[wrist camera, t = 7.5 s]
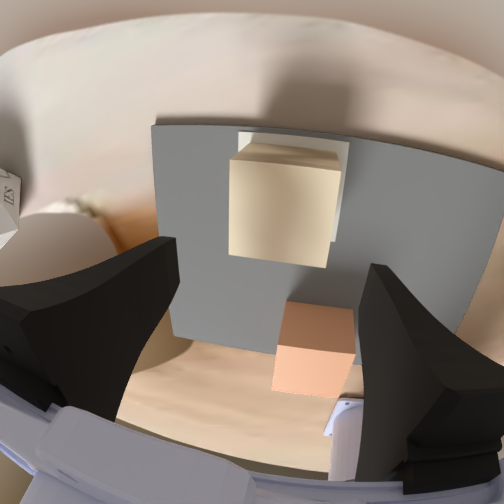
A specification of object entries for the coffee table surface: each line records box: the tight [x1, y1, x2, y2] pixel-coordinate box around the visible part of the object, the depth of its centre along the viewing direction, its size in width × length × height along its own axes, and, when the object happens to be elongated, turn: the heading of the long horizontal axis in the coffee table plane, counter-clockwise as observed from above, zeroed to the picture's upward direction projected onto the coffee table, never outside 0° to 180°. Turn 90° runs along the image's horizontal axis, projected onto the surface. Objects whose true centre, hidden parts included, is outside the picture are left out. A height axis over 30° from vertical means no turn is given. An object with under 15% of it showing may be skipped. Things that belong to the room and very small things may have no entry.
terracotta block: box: [271, 301, 356, 398], centre depth 22 cm, size 5×5×4 cm
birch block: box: [229, 143, 341, 268], centre depth 17 cm, size 5×5×4 cm
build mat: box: [151, 124, 504, 365], centre depth 21 cm, size 24×18×1 cm
